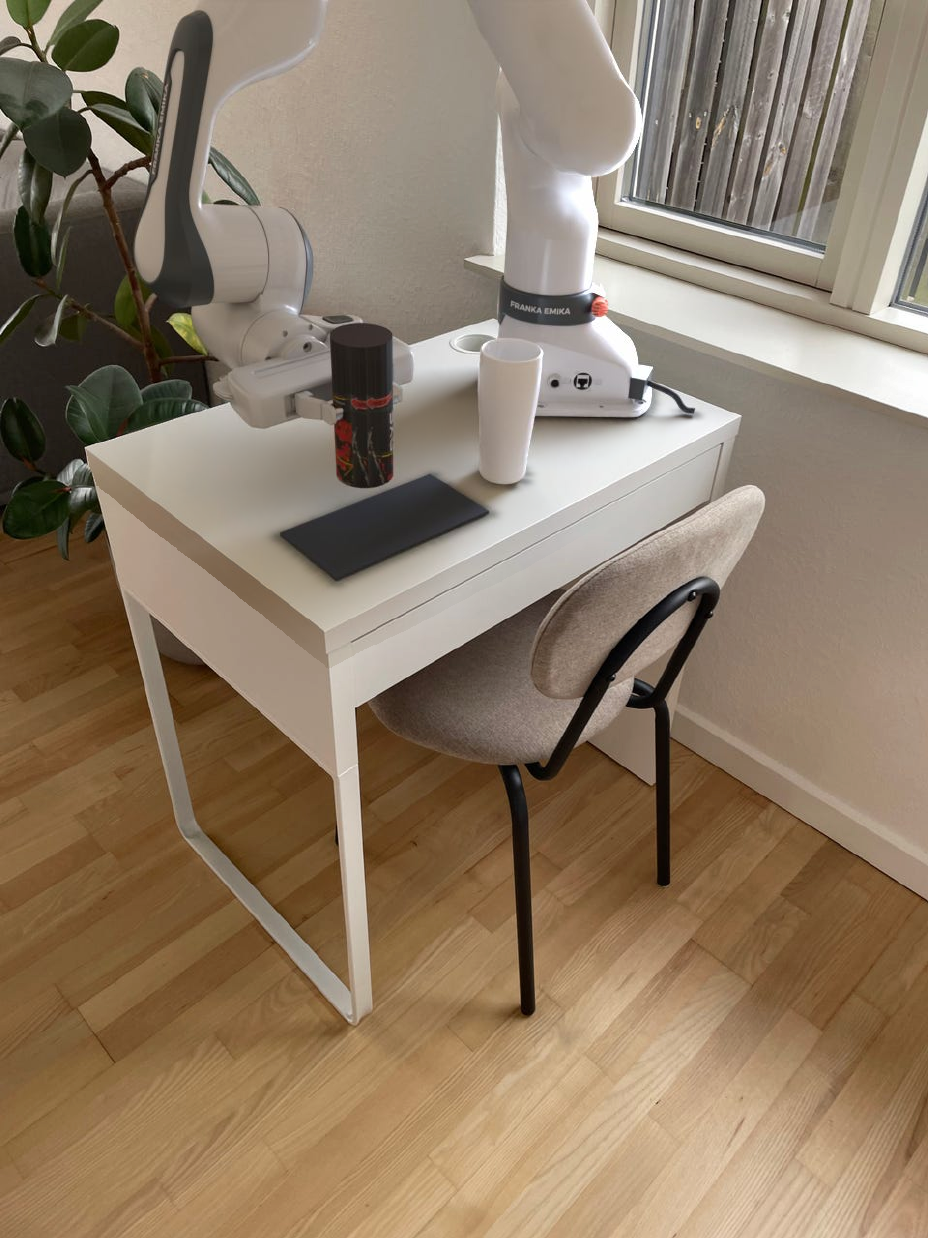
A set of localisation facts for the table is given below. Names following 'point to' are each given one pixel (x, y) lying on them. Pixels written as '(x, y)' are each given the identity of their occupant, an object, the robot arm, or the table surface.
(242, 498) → the table surface
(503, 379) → the drinking glass
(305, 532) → the mat
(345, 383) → the deodorant
